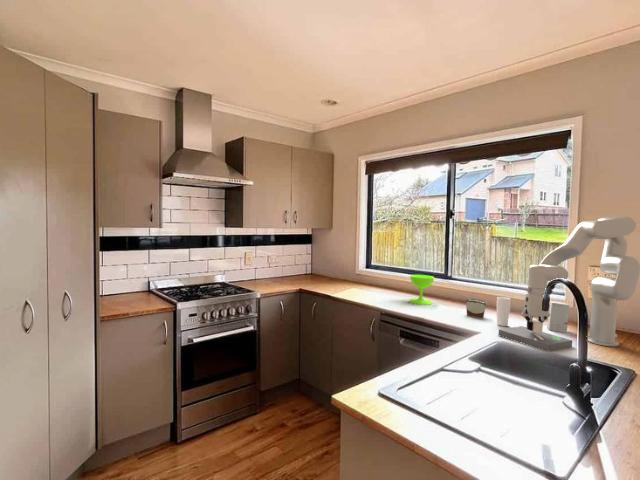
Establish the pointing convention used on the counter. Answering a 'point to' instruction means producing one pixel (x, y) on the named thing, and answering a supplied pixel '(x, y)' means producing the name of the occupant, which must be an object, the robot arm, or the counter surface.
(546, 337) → the dial plate
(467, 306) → the food container
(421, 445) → the counter surface
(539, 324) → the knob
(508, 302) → the drinking glass
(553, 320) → the skincare box
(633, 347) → the counter surface
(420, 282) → the wineglass
